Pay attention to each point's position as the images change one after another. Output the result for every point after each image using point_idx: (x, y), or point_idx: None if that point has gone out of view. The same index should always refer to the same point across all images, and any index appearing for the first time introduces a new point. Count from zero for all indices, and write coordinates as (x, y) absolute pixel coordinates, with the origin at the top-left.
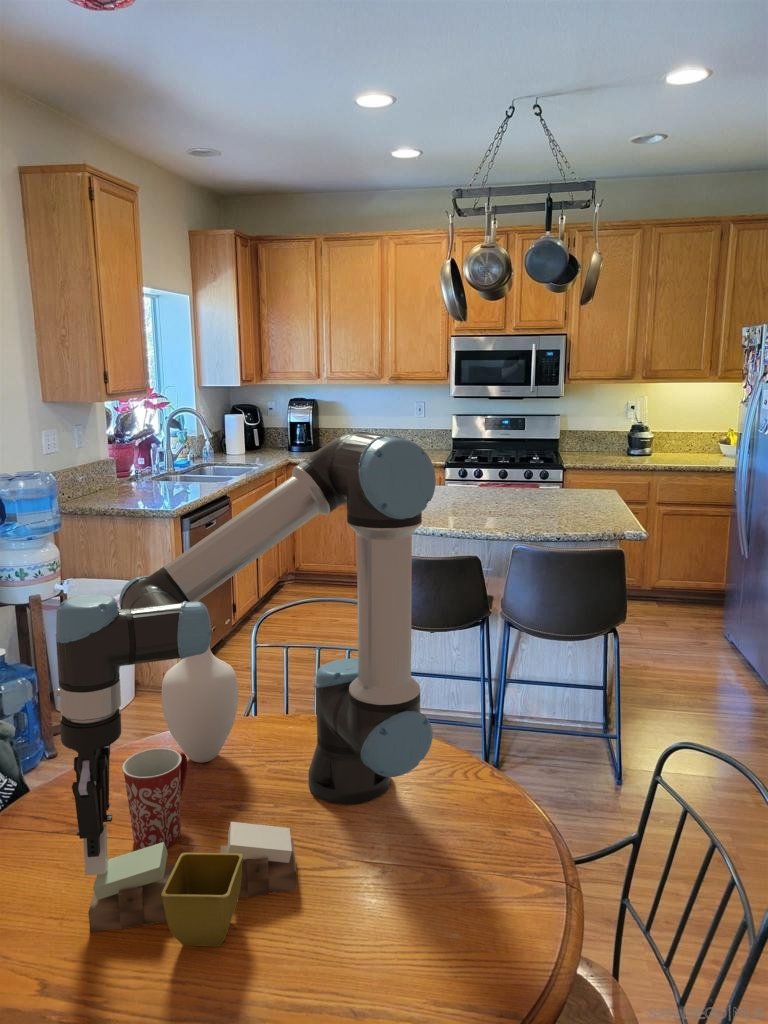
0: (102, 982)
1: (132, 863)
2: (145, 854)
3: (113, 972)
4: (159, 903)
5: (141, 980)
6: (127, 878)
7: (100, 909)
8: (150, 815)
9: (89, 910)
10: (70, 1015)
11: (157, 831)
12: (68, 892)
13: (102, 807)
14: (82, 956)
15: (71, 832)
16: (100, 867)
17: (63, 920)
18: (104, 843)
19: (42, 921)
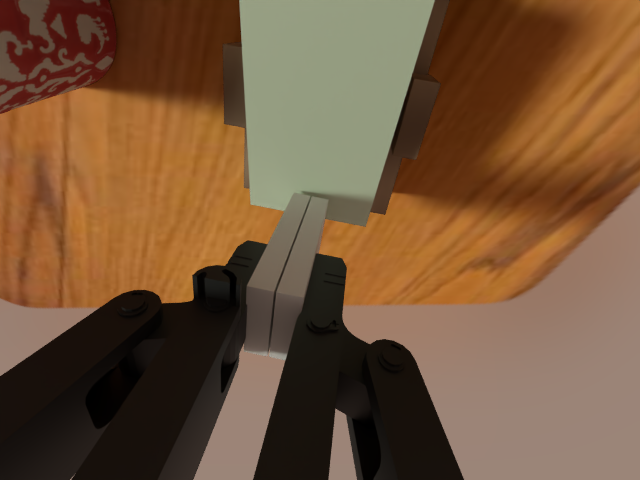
0: (554, 170)
1: (320, 118)
2: (290, 64)
3: (540, 147)
4: (444, 14)
5: (619, 81)
6: (392, 137)
7: (387, 189)
8: (11, 31)
9: (378, 212)
10: (598, 225)
11: (63, 6)
12: (246, 227)
13: (209, 381)
14: (448, 205)
15: (58, 221)
16: (323, 223)
17: (326, 235)
18: (313, 258)
19: None
